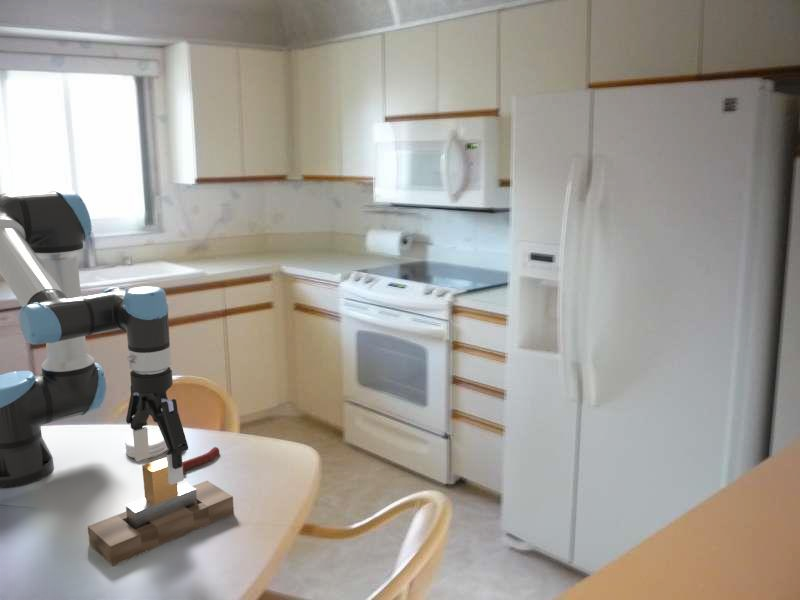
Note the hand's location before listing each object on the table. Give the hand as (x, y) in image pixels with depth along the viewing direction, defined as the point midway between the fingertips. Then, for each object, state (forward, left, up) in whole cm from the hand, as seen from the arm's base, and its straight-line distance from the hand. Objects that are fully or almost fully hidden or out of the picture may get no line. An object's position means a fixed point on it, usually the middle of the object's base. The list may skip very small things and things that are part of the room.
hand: (158, 470), depth 144 cm
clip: (0, 0, -13) cm, 13 cm away
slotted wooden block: (0, 0, -13) cm, 13 cm away
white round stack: (-37, +15, -13) cm, 42 cm away
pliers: (-24, +16, -13) cm, 31 cm away
